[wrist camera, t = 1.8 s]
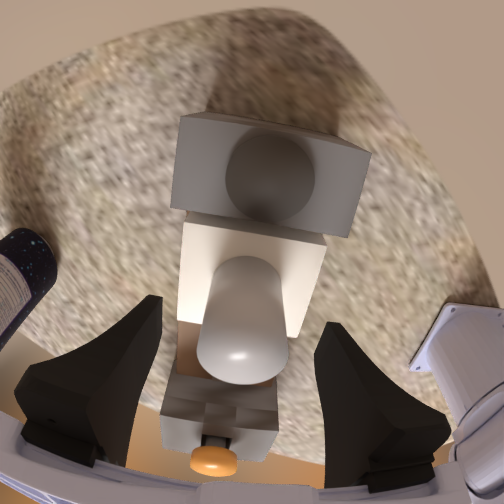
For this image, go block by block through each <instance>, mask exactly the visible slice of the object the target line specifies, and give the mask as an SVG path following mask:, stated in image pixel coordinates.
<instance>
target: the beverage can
mask: <svg viewBox="0 0 504 504" xmlns="http://www.w3.org/2000/svg"><path fill="white" fill-rule="evenodd" d="M56 279H57V265H56V261H55V257H54V253H53V251H52V249H51V247H50V245H49V244H48V242H47V241H46V240H45V239H44V238H43V237H41V236H40V235H38V234H37V233H35V232H34V231H32V230H29V229H26V228H18V229H16V230H14V231H12V232H11V233H10V234H8V235H7V236H6V237H4V238H3V239H2V240H0V351H1V350H2V348H3V347H4V346H5V344H6V343H7V342H8V340H9V339H10V338H11V336H12V335H13V334H14V333H15V331H16V330H17V329H18V327H19V326H20V325H21V324H22V322H23V321H24V320H25V319H26V317H27V316H28V315H29V314H30V312H31V311H32V310H33V309H34V308H35V306H36V305H37V304H38V303H39V302H40V300H41V299H42V298H43V297H44V296H45V295H46V293H47V292H48V291H49V290H50V289H51V288H52V287H53V285H54V284H55V282H56Z"/></svg>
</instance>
